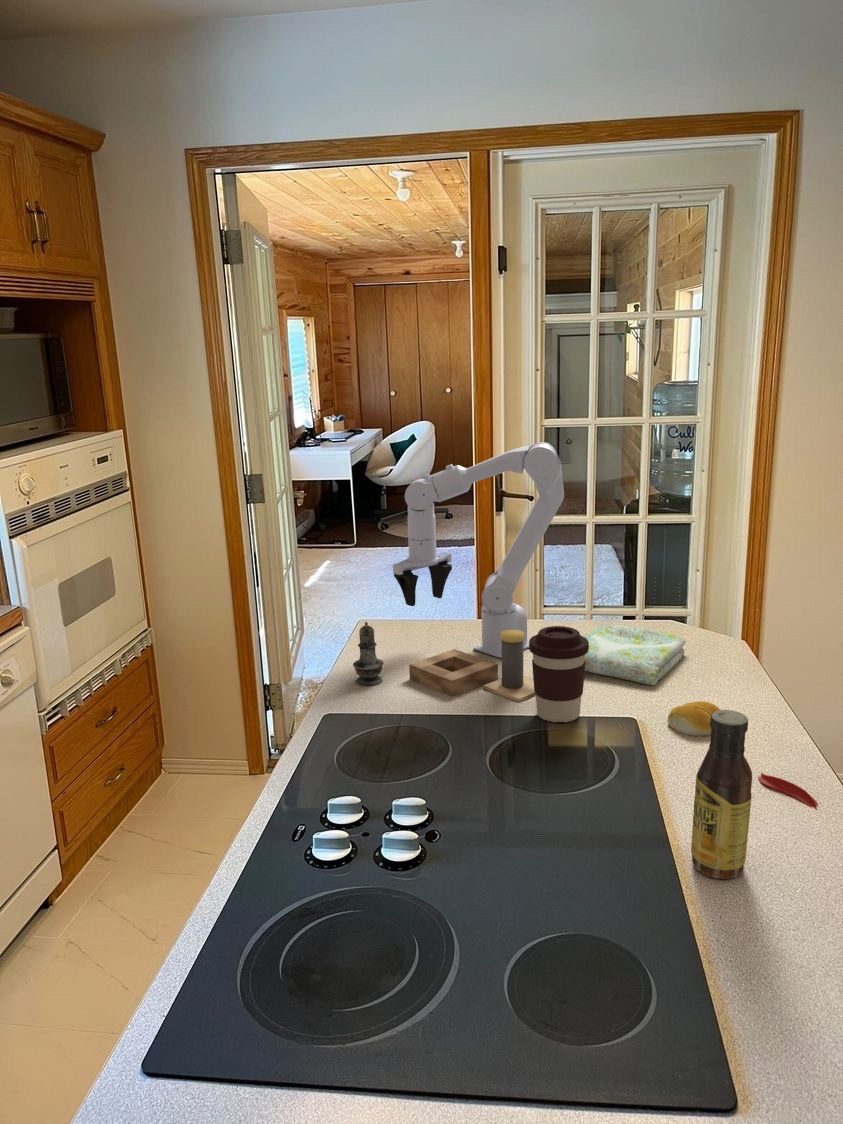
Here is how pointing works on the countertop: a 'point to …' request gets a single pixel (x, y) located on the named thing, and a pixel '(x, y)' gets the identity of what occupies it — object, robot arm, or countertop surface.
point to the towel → (632, 653)
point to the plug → (512, 658)
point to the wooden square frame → (443, 679)
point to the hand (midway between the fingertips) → (424, 601)
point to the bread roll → (692, 718)
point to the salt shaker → (368, 659)
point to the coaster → (514, 694)
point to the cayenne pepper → (787, 789)
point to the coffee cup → (558, 672)
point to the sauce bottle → (722, 800)
